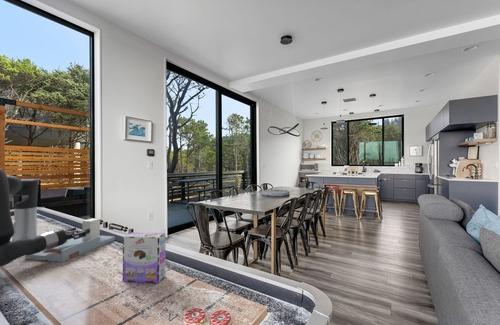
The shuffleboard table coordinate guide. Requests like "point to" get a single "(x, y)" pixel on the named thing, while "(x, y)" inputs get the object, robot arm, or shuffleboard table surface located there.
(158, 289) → the shuffleboard table surface
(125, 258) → the candy box
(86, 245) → the trough
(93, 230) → the cream block
